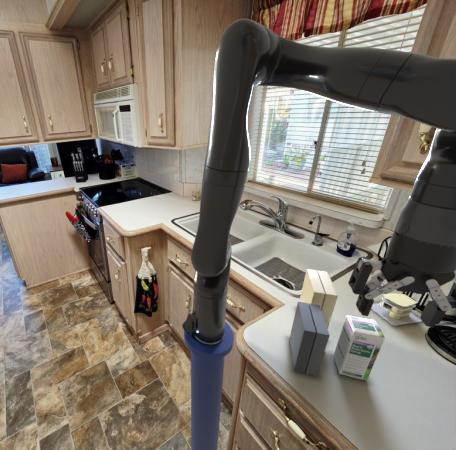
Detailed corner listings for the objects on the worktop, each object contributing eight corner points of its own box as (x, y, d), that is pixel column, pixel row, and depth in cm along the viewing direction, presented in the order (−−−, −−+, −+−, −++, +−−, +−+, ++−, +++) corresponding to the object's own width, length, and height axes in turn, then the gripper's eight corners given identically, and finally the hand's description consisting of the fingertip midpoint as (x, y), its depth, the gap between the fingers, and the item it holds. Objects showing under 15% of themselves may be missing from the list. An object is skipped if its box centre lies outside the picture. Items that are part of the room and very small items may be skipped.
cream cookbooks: (302, 335, 72) (313, 291, 66) (297, 309, 82) (306, 268, 75) (324, 340, 70) (338, 295, 64) (316, 312, 80) (327, 271, 73)
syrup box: (338, 374, 61) (354, 331, 55) (332, 354, 66) (346, 313, 60) (366, 381, 59) (386, 338, 53) (358, 360, 64) (375, 318, 58)
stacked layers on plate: (393, 301, 82) (399, 287, 80) (423, 321, 74) (430, 307, 72) (366, 305, 81) (371, 291, 79) (393, 326, 73) (399, 311, 71)
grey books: (293, 370, 63) (304, 330, 57) (289, 339, 71) (297, 301, 66) (316, 376, 61) (329, 335, 55) (309, 343, 70) (319, 305, 64)
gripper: (480, 225, 36) (434, 310, 43) (361, 217, 41) (336, 295, 47) (529, 250, 29) (466, 346, 36) (381, 238, 34) (350, 325, 41)
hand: (393, 317), depth 42 cm, fingers open, 8 cm apart
